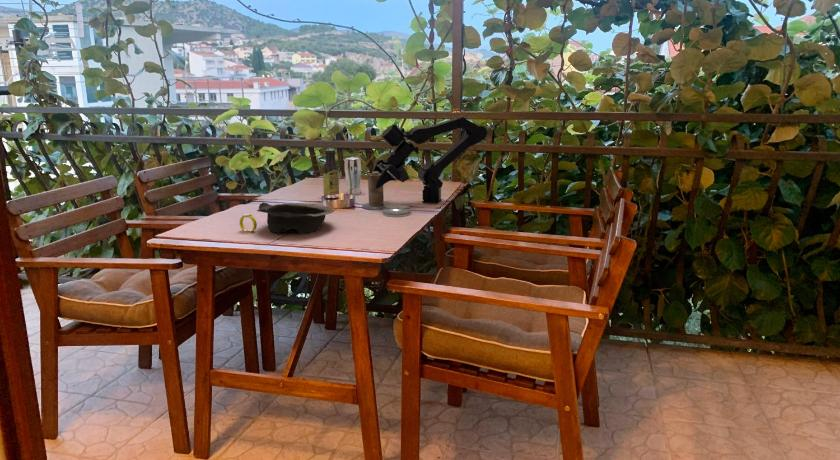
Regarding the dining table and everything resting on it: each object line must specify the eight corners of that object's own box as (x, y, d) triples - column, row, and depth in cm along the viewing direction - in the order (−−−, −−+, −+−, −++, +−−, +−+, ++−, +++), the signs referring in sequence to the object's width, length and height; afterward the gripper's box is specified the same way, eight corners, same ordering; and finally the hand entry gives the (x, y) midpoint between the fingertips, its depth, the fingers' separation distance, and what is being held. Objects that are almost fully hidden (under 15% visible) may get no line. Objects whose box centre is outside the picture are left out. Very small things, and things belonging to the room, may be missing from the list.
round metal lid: (414, 212, 223) (414, 205, 222) (405, 218, 214) (405, 211, 213) (388, 210, 226) (388, 204, 225) (379, 216, 217) (378, 210, 216)
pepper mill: (380, 203, 233) (379, 170, 230) (383, 206, 229) (382, 172, 226) (369, 204, 232) (367, 171, 228) (372, 207, 228) (370, 173, 224)
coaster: (394, 204, 234) (394, 203, 234) (384, 210, 224) (384, 209, 224) (368, 202, 237) (368, 201, 237) (357, 209, 227) (357, 207, 227)
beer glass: (361, 195, 252) (359, 159, 248) (344, 195, 252) (343, 159, 248) (363, 191, 258) (361, 157, 255) (347, 191, 259) (345, 157, 255)
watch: (239, 232, 198) (236, 215, 197) (244, 230, 201) (242, 213, 199) (253, 233, 196) (251, 215, 194) (259, 230, 198) (256, 213, 197)
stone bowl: (247, 237, 191) (245, 208, 189) (276, 223, 215) (275, 197, 213) (323, 238, 187) (321, 209, 185) (343, 223, 212) (342, 197, 210)
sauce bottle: (331, 200, 242) (329, 151, 237) (320, 198, 246) (317, 150, 241) (343, 197, 247) (340, 149, 242) (332, 195, 251) (329, 148, 246)
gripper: (422, 172, 223) (395, 203, 223) (407, 165, 240) (381, 194, 240) (402, 152, 219) (373, 184, 218) (387, 146, 236) (361, 176, 235)
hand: (373, 185), depth 228 cm, fingers open, 9 cm apart
